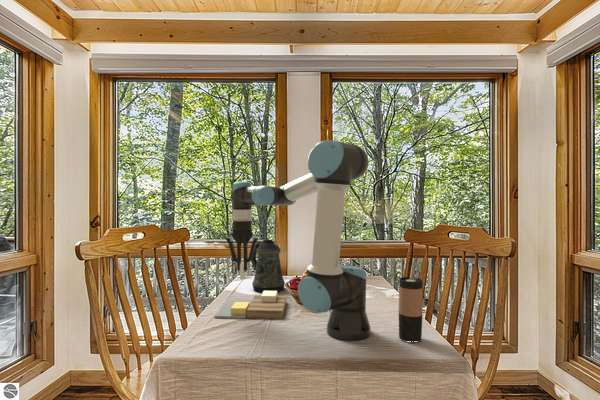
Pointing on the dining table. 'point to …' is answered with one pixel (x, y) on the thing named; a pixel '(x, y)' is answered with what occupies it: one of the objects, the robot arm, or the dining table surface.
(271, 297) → the ivory tile
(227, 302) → the slate mat
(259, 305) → the walnut deck
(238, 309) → the mustard tile
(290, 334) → the dining table surface
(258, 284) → the beer stein
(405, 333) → the travel mug
